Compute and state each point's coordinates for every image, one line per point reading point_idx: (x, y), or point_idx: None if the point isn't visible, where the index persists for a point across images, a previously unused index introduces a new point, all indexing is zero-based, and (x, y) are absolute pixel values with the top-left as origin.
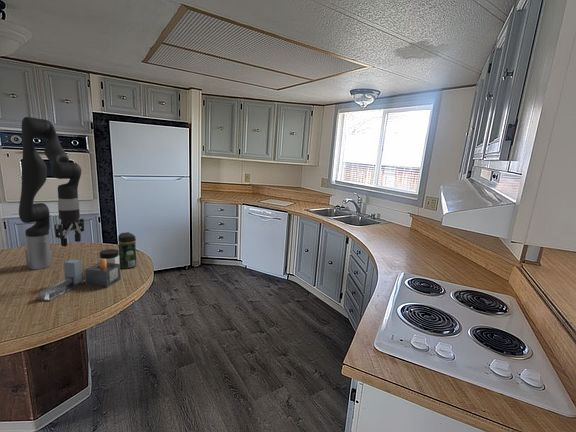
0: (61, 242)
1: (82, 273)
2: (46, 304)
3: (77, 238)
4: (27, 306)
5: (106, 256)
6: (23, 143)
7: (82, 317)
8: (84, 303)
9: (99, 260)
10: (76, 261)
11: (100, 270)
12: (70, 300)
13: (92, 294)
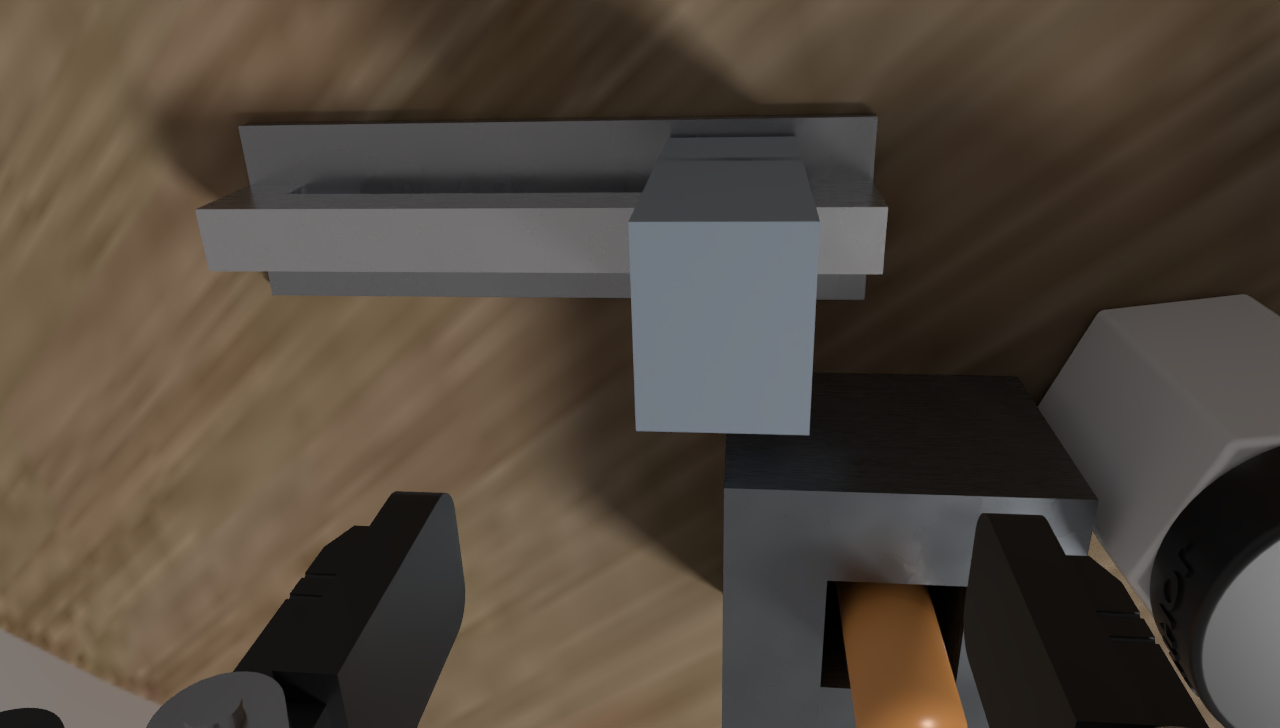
0: (294, 615)
1: (870, 271)
2: (225, 308)
3: (997, 666)
4: (117, 166)
5: (1171, 639)
6: None
7: None
8: None
9: (877, 690)
10: (729, 403)
11: (734, 682)
12: (373, 455)
13: (548, 558)
